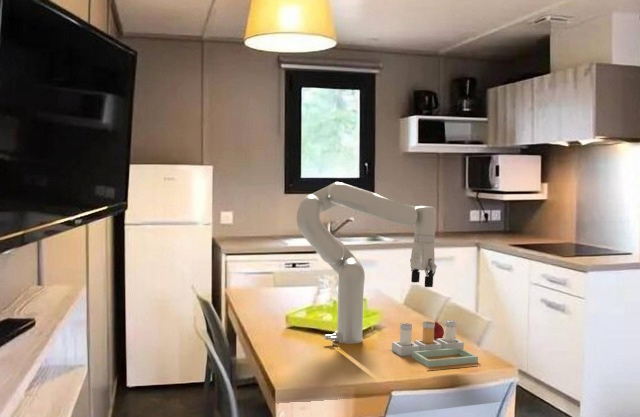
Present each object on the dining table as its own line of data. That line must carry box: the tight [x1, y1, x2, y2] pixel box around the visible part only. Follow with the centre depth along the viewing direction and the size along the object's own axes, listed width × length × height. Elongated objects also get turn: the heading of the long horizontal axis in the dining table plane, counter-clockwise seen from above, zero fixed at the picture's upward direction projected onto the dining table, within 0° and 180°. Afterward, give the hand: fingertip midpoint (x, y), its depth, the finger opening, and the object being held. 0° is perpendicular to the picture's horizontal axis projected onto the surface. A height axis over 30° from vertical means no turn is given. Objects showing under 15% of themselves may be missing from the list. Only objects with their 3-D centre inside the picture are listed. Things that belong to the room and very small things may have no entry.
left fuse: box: [399, 322, 413, 346], centre depth 216 cm, size 4×4×10 cm
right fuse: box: [444, 319, 458, 343], centre depth 221 cm, size 4×4×10 cm
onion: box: [434, 320, 445, 340], centre depth 237 cm, size 6×6×8 cm
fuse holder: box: [389, 337, 465, 358], centre depth 219 cm, size 26×9×4 cm, turn 109°
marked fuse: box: [421, 321, 435, 345], centre depth 219 cm, size 4×4×10 cm
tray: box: [411, 348, 479, 372], centre depth 208 cm, size 19×11×4 cm, turn 109°
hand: (421, 284), depth 230 cm, fingers open, 9 cm apart
